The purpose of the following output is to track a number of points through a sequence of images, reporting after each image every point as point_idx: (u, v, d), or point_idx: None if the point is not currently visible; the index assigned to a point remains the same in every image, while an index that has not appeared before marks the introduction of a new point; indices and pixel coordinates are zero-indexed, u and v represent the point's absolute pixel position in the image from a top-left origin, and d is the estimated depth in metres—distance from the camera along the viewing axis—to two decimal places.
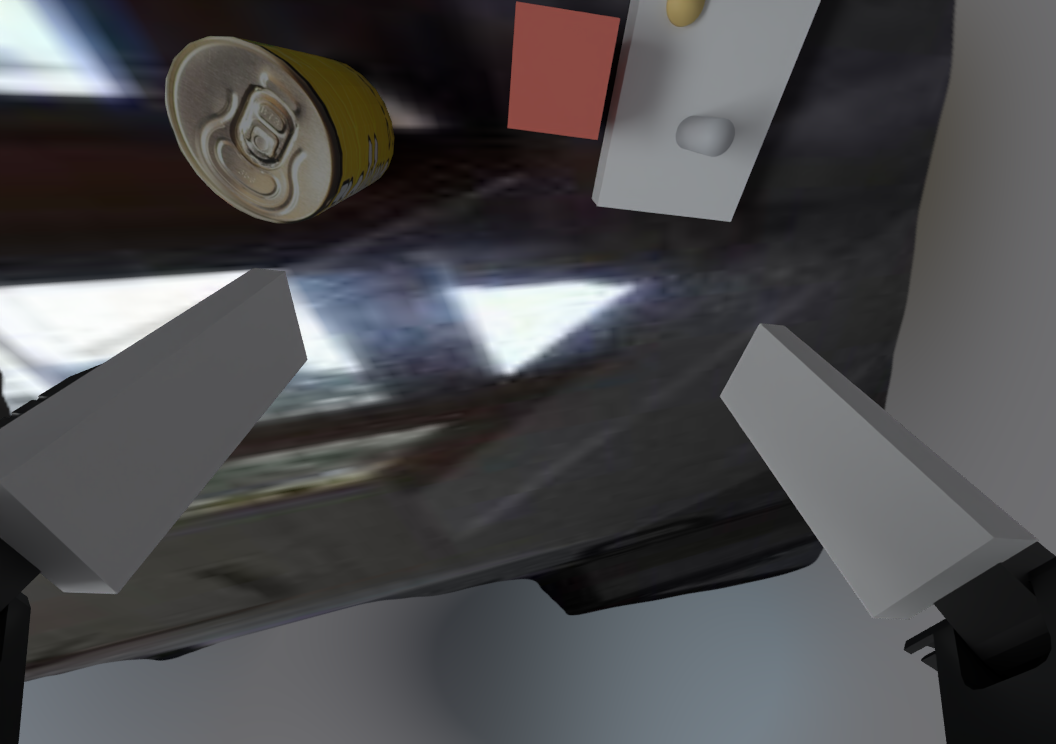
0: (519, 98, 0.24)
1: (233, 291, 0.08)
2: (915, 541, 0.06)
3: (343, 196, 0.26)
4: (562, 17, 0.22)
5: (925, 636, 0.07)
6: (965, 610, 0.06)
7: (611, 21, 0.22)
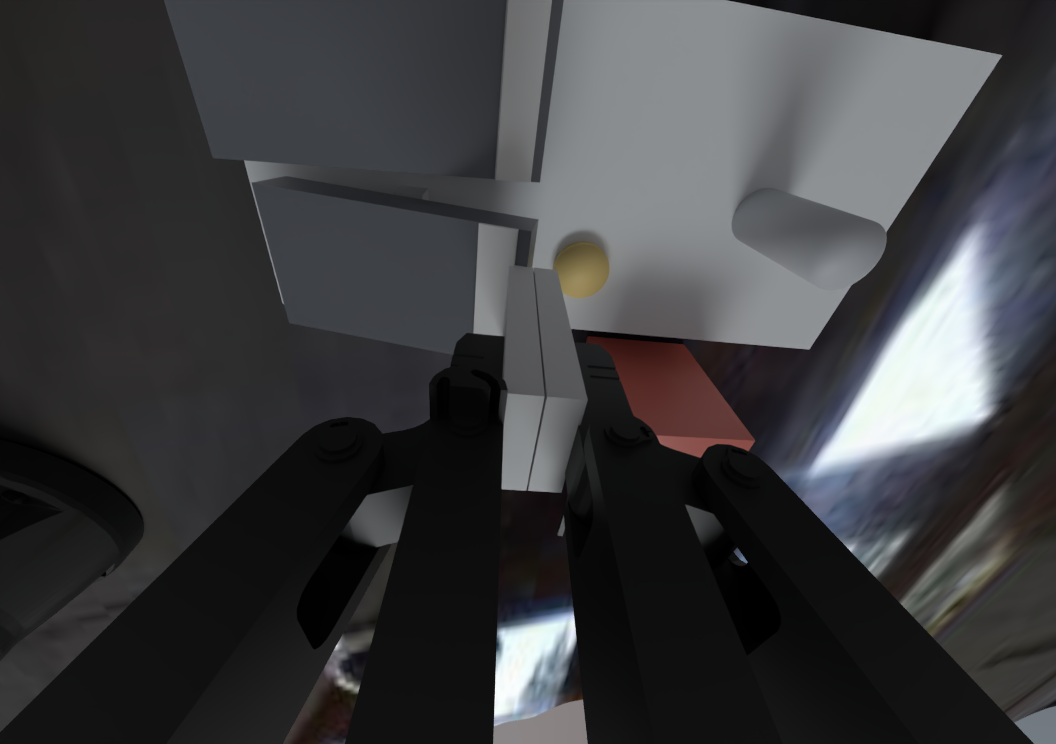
0: None
1: (520, 282, 0.11)
2: None
3: None
4: None
5: (562, 519, 0.08)
6: (570, 488, 0.07)
7: None
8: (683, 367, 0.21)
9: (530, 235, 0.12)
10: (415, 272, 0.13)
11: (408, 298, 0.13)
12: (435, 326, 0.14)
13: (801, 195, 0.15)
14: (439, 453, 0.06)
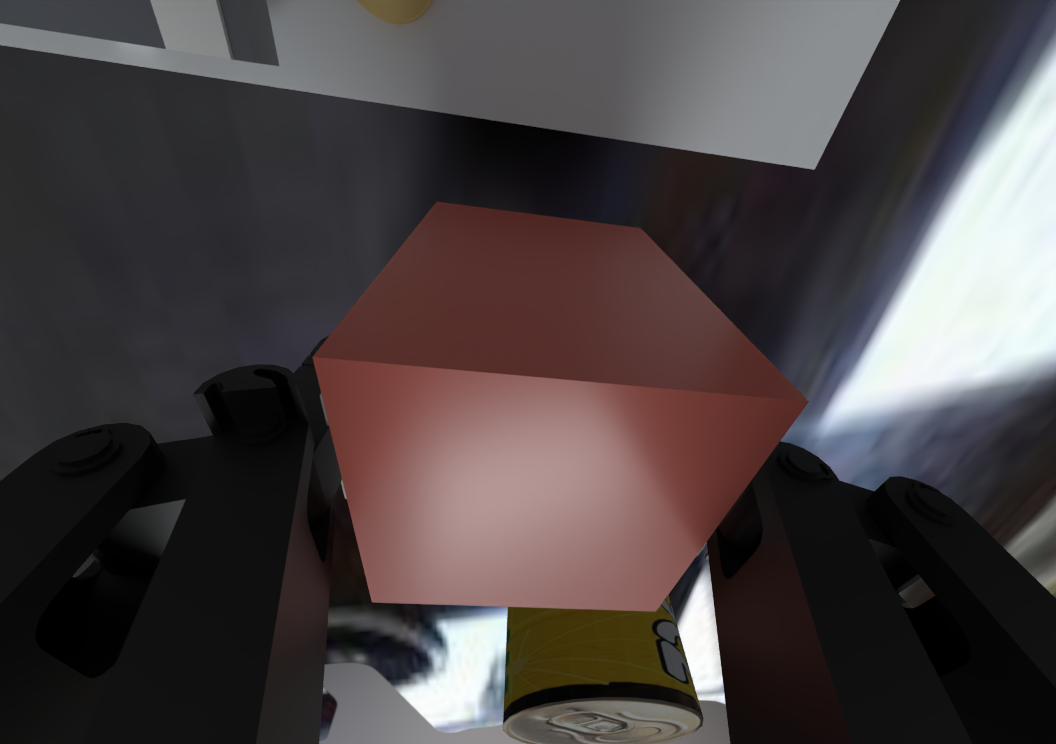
0: (588, 595, 0.08)
1: None
2: None
3: (672, 633, 0.18)
4: (375, 526, 0.06)
5: None
6: None
7: (337, 390, 0.05)
8: (626, 251, 0.09)
9: None
10: None
11: None
12: None
13: None
14: (220, 469, 0.05)
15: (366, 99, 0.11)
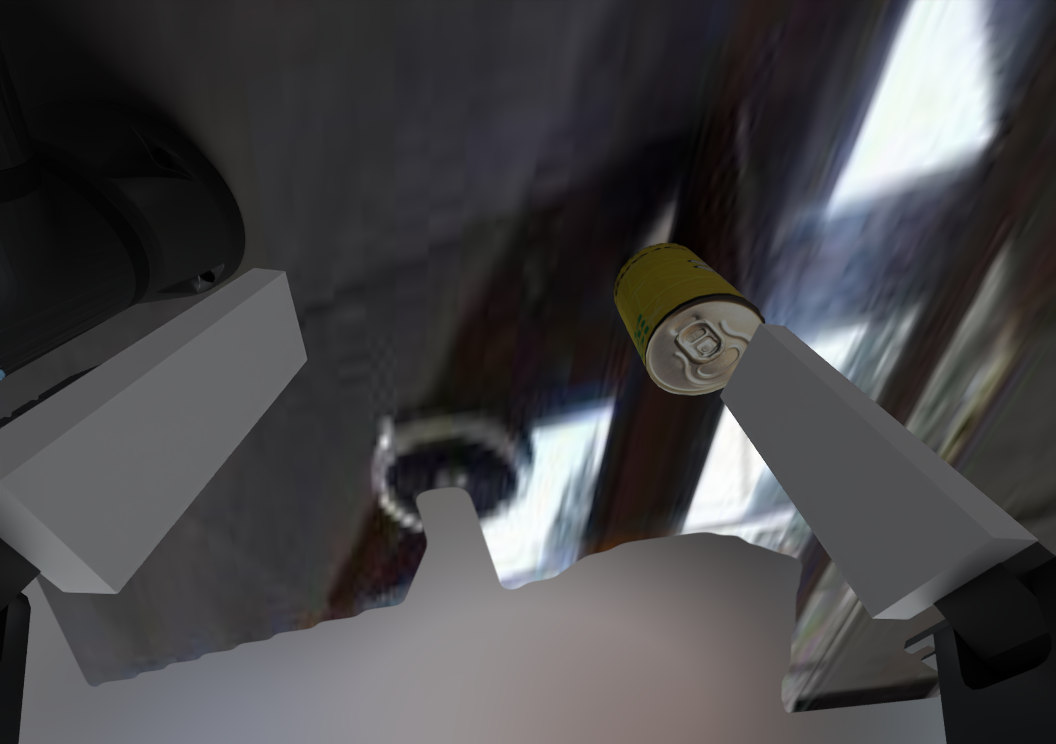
0: None
1: (234, 291, 0.08)
2: (915, 541, 0.06)
3: None
4: None
5: (925, 636, 0.07)
6: (965, 611, 0.06)
7: None
8: None
9: None
10: None
11: None
12: None
13: None
14: None
15: None
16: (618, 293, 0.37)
